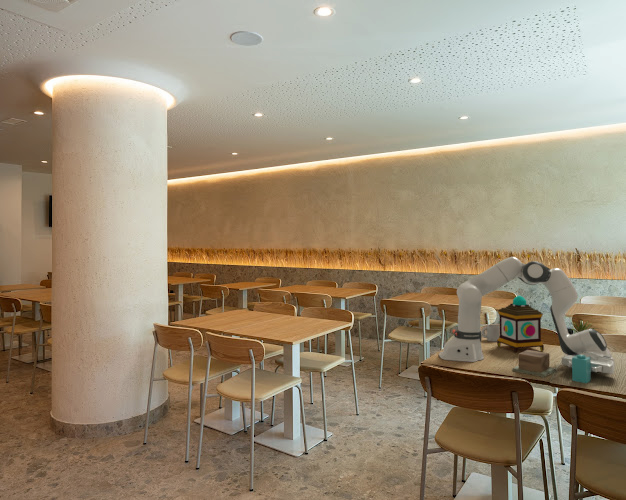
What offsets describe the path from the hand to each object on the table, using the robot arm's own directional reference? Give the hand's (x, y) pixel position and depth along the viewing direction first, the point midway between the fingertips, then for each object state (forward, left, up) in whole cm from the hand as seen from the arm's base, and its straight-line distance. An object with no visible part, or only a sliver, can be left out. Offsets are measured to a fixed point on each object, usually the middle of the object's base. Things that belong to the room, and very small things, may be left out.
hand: (581, 367), depth 195 cm
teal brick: (0, -1, -6) cm, 6 cm away
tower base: (-16, +12, -5) cm, 21 cm away
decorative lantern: (-10, +54, -6) cm, 55 cm away
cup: (-21, +74, -6) cm, 77 cm away
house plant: (+23, +56, -6) cm, 61 cm away
